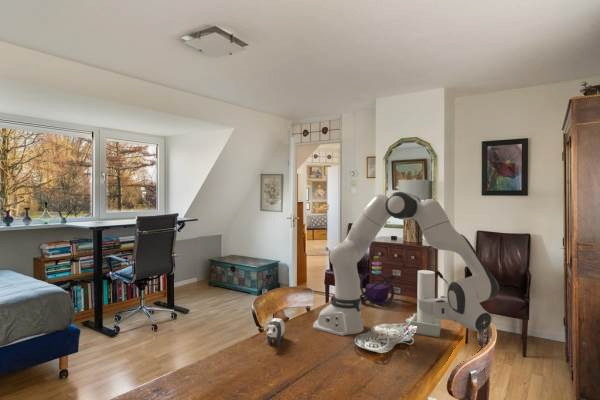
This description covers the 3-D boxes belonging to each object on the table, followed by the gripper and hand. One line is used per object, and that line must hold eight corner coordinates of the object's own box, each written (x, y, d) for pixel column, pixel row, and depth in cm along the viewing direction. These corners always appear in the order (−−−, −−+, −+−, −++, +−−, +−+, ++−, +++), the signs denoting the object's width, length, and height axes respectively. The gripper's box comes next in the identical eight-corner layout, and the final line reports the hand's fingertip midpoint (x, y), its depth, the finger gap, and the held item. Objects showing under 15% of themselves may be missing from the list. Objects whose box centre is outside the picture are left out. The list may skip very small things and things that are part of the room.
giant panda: (272, 335, 156) (272, 313, 156) (285, 336, 155) (285, 314, 155) (262, 350, 142) (262, 325, 141) (276, 351, 140) (276, 326, 140)
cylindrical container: (414, 328, 162) (414, 271, 161) (422, 324, 167) (422, 269, 166) (429, 333, 156) (430, 274, 156) (437, 328, 161) (437, 271, 161)
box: (410, 332, 159) (410, 321, 159) (414, 324, 169) (414, 313, 169) (438, 337, 154) (439, 325, 154) (440, 327, 164) (441, 316, 164)
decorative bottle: (369, 294, 218) (369, 252, 218) (403, 300, 205) (403, 256, 204) (349, 302, 201) (349, 257, 200) (384, 310, 188) (384, 262, 187)
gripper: (476, 298, 147) (453, 289, 160) (431, 302, 141) (411, 293, 154) (476, 314, 147) (453, 303, 160) (431, 319, 141) (411, 308, 155)
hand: (432, 298), depth 157 cm, fingers open, 8 cm apart
